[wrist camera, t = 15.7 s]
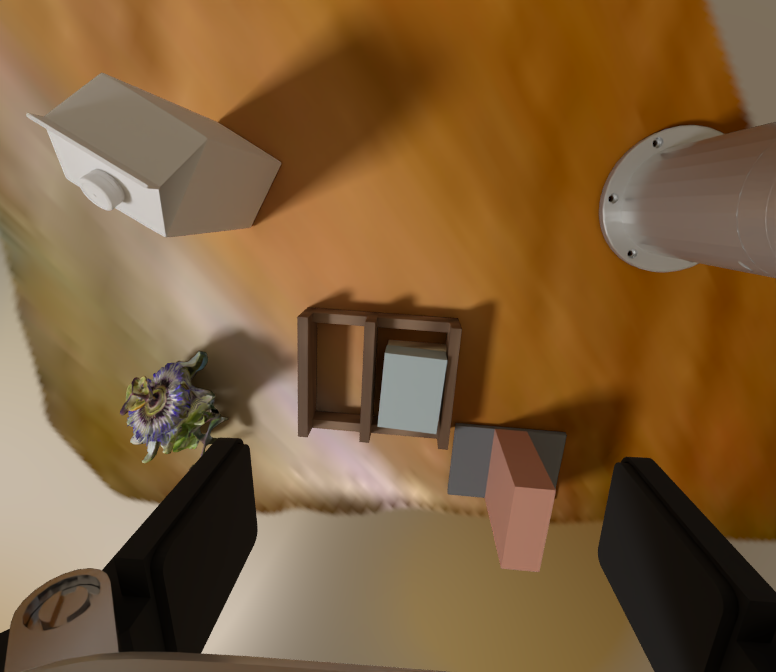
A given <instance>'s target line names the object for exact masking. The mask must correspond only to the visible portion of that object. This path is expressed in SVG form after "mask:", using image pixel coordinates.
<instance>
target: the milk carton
mask: <svg viewBox="0 0 776 672" xmlns="http://www.w3.org/2000/svg"><path fill="white" fill-rule="evenodd" d="M26 116H27V117H28V118H29V119H31V120H33V121H34V122H36V123H38V124H39V125H41V126H43V127H44V128H46V129H47V132H48V134H49V137H50V139H51V142H52V144H53V147H54V149H55V152H56V154H57V157H58V159H59V162H60V164H61V167H62V169H63V172H64V174H65V176H66V178H67V179H68V180H69V181H71V182H72V183H74V184H76V185H77V186H79V187H80V188H81V189H82V191H83V193H84V194H85V195H86V196H87V198H88V199H89V200H91V201H92V202H93V203H94V204H96V205H97V206H99V207H100V208H102V209H105V210H113V209H114V208H116V209H118V210H119V211H121V212H123V213H124V214H126V215H128V216H129V217H131V218H133V219H134V220H136V221H138V222H139V223H141V224H143V225H145V226H146V227H148V228H150V229H151V230H153V231H155V232H157V233H158V234H160V235H162V236H164V237H176V236H185V235H193V234H202V233H210V232H219V231H227V230H236V229H244V228H251V226H252V224H253V222H254V220H255V218H256V215H257V213H258V211H259V209H260V207H261V205H262V203H263V201H264V199H265V197H266V195H267V193H268V191H269V188H270V186H271V184H272V182H273V180H274V178H275V176H276V174H277V172H278V170H279V168H280V166H281V162H280V161H279V160H277V159H275V158H274V157H272V156H271V155H269V154H268V153H266V152H264V151H263V150H261V149H260V148H258V147H256V146H255V145H253V144H252V143H250V142H249V141H247V140H245V139H244V138H242V137H241V136H239V135H237V134H236V133H234V132H233V131H231V130H229V129H228V128H226V127H225V126H223V125H221V124H220V123H218V122H216V121H214V120H211V119H209V118H207V117H204V116H202V115H200V114H197V113H195V112H193V111H190V110H188V109H186V108H183V107H181V106H179V105H177V104H174V103H172V102H170V101H167V100H165V99H163V98H160V97H158V96H156V95H153V94H151V93H149V92H146V91H144V90H142V89H139V88H137V87H135V86H132V85H130V84H128V83H125V82H123V81H121V80H118V79H116V78H114V77H111V76H109V75H107V74H104V73H100V74H99V75H98V76H96V77H95V78H94V79H92V80H91V81H90V82H88V83H87V84H86V85H84V86H83V87H82V88H81V89H79V90H78V91H77V92H75V93H74V94H73V95H71V96H70V97H69V98H67V99H66V100H65V101H64V102H62V103H61V104H60V105H58V106H57V107H56V108H54V109H53V110H52V111H50V112H49V113H48V114H46V115H45V116H44V117H43V116H39V115H35V114H31V113H27V114H26Z"/></svg>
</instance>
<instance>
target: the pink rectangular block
mask: <svg viewBox="0 0 776 672" xmlns="http://www.w3.org/2000/svg"><path fill="white" fill-rule="evenodd" d="M555 492H556V490H555V488H554V485H553V483H552V481H551V479H550V477H549V475H548V473H547V471H546V469H545V467H544V465H543V463H542V461H541V459H540V457H539V455H538V453H537V451H536V449H535V447H534V445H533V443H532V441H531V438H530V436H529V434H528V432H527V431H515V430H503V429H495V431H494V438H493V445H492V452H491V459H490V466H489V472H488V479H487V486H486V493H485V501H486V505H487V509H488V513H489V518H490V522H491V526H492V530H493V535H494V539H495V543H496V548H497V552H498V557H499V561H500V565H501V568H503V569H513V570H524V571H533V572H539V571H540V565H541V561H542V556H543V551H544V546H545V541H546V536H547V531H548V526H549V522H550V517H551V512H552V507H553V502H554V497H555Z"/></svg>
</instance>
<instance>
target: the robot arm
mask: <svg viewBox="0 0 776 672" xmlns="http://www.w3.org/2000/svg"><path fill="white" fill-rule="evenodd" d="M653 141H654V142H655V146H653ZM609 196H611V197H612V200H611V201H610V202H609V199H608V198H609ZM599 219H600V226H601V230H602V233H603V235H604V238H605V240H606V242H607V244H608V245H609V247H610V248H611V250H612V251H613V252H614V253H615V254H616V255H617V256H618V257H619V258H620V259H622V260H623V261H625V262H626V263H628V264H630V265H632V266H635V267H637V268H640V269H644V270H648V271H652V272H672V271H679V270H682V269H686V268H689V267H692V266H694V265H696V264H699V263H702V264H707V265H712V266H717V267H722V268H727V269H732V270H737V271H742V272H748V273H753V274H758V275H763V276H768V277H773V278H776V122H773V123H769V124H765V125H761V126H756V127H752V128H748V129H744V130H740V131H736V132H731V133H727V134H723V133H722V132H720V131H717V130H715V129H712V128H710V127H704V126H698V125H685V126H677V127H673V128H669V129H665V130H662V131H659V132H657V133H654V134H652V135H650V136H648V137H646V138H645V139H643V140H641V141H639V142H638V143H637V144H635V145H634V146H633V147H632V148H630V149H629V150H628V151H627V152H626V153H625V154H624V155H623V156H622V157H621V158H620V160H619V161H618V162H617V163H616V165H615V166H614V168H613V169H612V171H611V172H610V174H609V176H608V178H607V180H606V183H605V185H604V187H603V191H602V195H601V199H600V206H599ZM629 251H630V254H629V255H628V252H629ZM256 537H257V518H256V508H255V498H254V487H253V477H252V467H251V457H250V448H249V446H248V445H247V444H243V441H242V439H239V438H218V439H216V440H215V442H214V443H213V444H212V445H211V446H210V447H209V448H208V450H207V451H206V452H205V453H204V454H203V455H202V457H201V458H200V459H199V460H198V461H197V462H196V463H195V465H194V466H193V467H192V468H191V469H190V470H189V471H188V473H187V474H186V475H185V476H184V477H183V478H182V479H181V481H180V482H179V483H178V484H177V485H176V486H175V487H174V489H173V490H172V491H171V492H170V493H169V494H168V495H167V496H166V498H165V499H164V500H163V501H162V502H161V503H160V504H159V506H158V507H157V508H156V509H155V510H154V511H153V512H152V514H151V515H150V516H149V517H148V518H147V519H146V520H145V522H144V523H143V524H142V525H141V526H140V527H139V528H138V530H137V531H136V532H135V533H134V534H133V535H132V536H131V538H130V539H129V540H128V541H127V542H126V543H125V545H124V546H123V547H122V548H121V549H120V551H118V553H117V554H116V555H115V556H114V557H113V558H112V559H111V561H110V562H109V563H108V564H107V565H106V566H105V567H104V569H103V570H99V569H93V568H87V569H78V570H74V571H71V572H68V573H65V574H62V575H60V576H58V577H56V578H54V579H52V580H49V581H48V582H46V583H45V584H43V585H42V586H40V587H39V588H37V589H36V590H34V591H33V592H32V593H31V594H30V595H29V596H28V597H27V598H26V599H25V600H23V602H22V603H21V605H20V606H19V607H18V608H17V610H16V611H15V613H14V615H13V618H12V621H11V625H10V629H8V630H6V631H4V632H2V633H0V672H445V671H433V670H421V669H407V668H396V667H383V666H371V665H358V664H357V665H356V664H344V663H331V662H318V661H303V660H290V659H277V658H264V657H250V656H233V655H217V654H201V652H202V650H203V648H204V646H205V644H206V642H207V640H208V638H209V636H210V634H211V632H212V630H213V627H214V625H215V624H216V622H217V619H218V617H219V615H220V613H221V611H222V609H223V607H224V605H225V603H226V601H227V599H228V597H229V595H230V593H231V591H232V589H233V587H234V585H235V583H236V581H237V578H238V577H239V574H240V572H241V570H242V568H243V566H244V564H245V562H246V560H247V558H248V556H249V554H250V552H251V550H252V548H253V546H254V543H255V541H256ZM598 558H599V562H600V565H601V567H602V569H603V571H604V573H605V575H606V577H607V579H608V581H609V583H610V585H611V587H612V589H613V591H614V593H615V594H616V597H617V599H618V601H619V603H620V605H621V606H622V608H623V611H624V612H625V614H626V616H627V618H628V620H629V622H630V624H631V626H632V628H633V630H634V632H635V634H636V636H637V638H638V640H639V642H640V644H641V646H642V648H643V650H644V652H645V654H646V656H647V658H648V660H649V661H650V664H651V666H652V668H653V670H654V671H655V672H776V592H775V591H774V590H773V589H772V587H771V586H769V584H768V583H767V582H766V581H765V580H764V579H763V578H762V577H761V576H760V575H759V573H758V572H757V571H756V570H755V569H754V568H753V567H752V566H751V565H750V564H749V563H748V562H747V561H746V560H745V558H744V557H743V556H742V555H741V554H740V553H739V552H738V551H737V550H736V549H735V548H734V547H733V545H732V544H731V543H730V542H729V541H728V540H727V539H726V538H725V537H724V536H723V535H722V534H721V533H720V531H719V530H718V529H717V528H716V527H715V526H714V525H713V524H712V523H711V522H710V521H709V520H708V519H707V517H706V516H705V515H704V514H703V513H702V512H701V511H700V510H699V509H698V508H697V507H696V506H695V505H694V503H693V502H692V501H691V500H690V499H689V498H688V497H687V496H686V495H685V494H684V493H683V492H682V491H681V489H680V488H679V487H678V486H677V485H676V484H675V483H674V482H673V481H672V480H671V479H670V478H669V477H668V475H667V474H666V473H665V472H664V471H663V470H662V469H661V468H660V467H659V466H658V465H657V464H656V463H655V461H653V460H652V459H650V458H638V457H625V458H623V459H622V461H621V463H616V464H615V466H614V470H613V475H612V480H611V485H610V490H609V496H608V501H607V506H606V511H605V516H604V521H603V526H602V531H601V536H600V542H599V547H598Z"/></svg>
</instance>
